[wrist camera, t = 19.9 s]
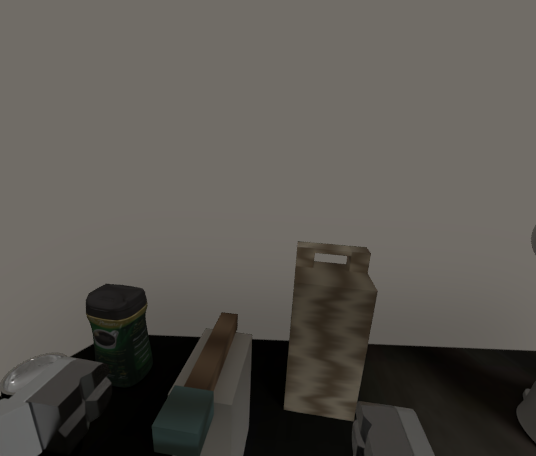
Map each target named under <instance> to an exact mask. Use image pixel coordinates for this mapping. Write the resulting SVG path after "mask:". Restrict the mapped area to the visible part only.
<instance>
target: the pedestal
mask: <svg viewBox="0 0 536 456" xmlns="http://www.w3.org/2000/svg"><path fill="white" fill-rule="evenodd" d="M212 330H213V329H207V328H206V329H205V331H204V333H203V334H202V336H201V338H200V340H199V341H198V343H197V345H196V346H195V348H194V350H193V352H192V353H191V355H190V357H189V359H188V360H187V362H186V364H185V366H184V367H183V369H182V371H181V373H180V374H179V376H178V378H177V380H176V381H175V383H174V385H177V386H183V387H184V385H185V383H186V381H187V379H188V377H189V375H190V373H191V371H192V369H193V367H194V365H195V363H196V361H197V360H198V358H199V356H200V354H201V352H202V350H203V348H204V346H205V344H206V342H207V340H208V338H209V336H210V334H211V332H212ZM251 353H252V334H244V333H237V332H236V333H235V336H234V338H233V341H232V344H231V346H230V349H229V352H228V354H227V357H226V360H225V362H224V365H223V368H222V370H221V373H220V376H219V378H218V381H217V384H216V386H215V389H214V416H213V419H212V422H211V425H210V427H209V430H208V433H207V436H206V439H205V442H204V445H203V448H202V451H201V454H200V456H243V453H244V448H245V443H246V438H247V433H248V428H249V406H250V380H251ZM174 385H173V387H174ZM173 387H172V388H171V390H170V392H171V391H172V389H173ZM170 392H169V393H168V396H169V394H170ZM172 456H174V455H172Z"/></svg>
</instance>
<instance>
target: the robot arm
mask: <svg viewBox="0 0 536 456" xmlns="http://www.w3.org/2000/svg"><path fill="white" fill-rule="evenodd" d="M531 242H532V248H533V250H534V253H535V254H536V226H535V228H534V229H533V232H532V237H531ZM109 373H110V371H109V366H108V364H105V363H100V362H95V361H89V360H84V359H79V358H72V357H66V356H64V357H62V358H59V359H57V360H56V361H55V362H54V363H52V364H51V365H50V366H49V367H47V368H46V369H45V370H44V371H42V372H41V373H40V374H39V375H38V376H36V377H35V378H34V379H33V380H31V381H30V382H29V383H28V384H26V385H25V386H24V387H23V388H22V389H20V390H19V391H18V392H17V393H15V394H14V395H13V396H12V397H10V398H9V399H5V398H4V399H2V400H0V456H38V455H39V454H40V453H42V450H45V451H51V452H57V453H64V454H70V453H71V452H72V450H73V449H74V448H75V447H76V445H77V444H78V443H79V442H80V440H81V439H82V438H83V436H84V435H85V434H86V433H87V431H88V428H89V422H91V421H93V420H94V419H96V418H97V417H99V416H100V415H101V414H102V412H103V411H104V410H105V408H106V407H107V405H108V403H109V401H110V398H111V395H112V383H111V382H110V380H109V379H108V378H107V376H108V374H109ZM523 399H524V400H523V401H522V402H521V403H520V404H519V405H518V407H517V410H516V413H517V418H518V420H519V422H520V424H521V426H522V427H523V429H524V430H525V431H526V433H527V434H528V435H529V436H530V438H531V439H532V440H533V441H534V442H535V443H536V381H535V383H534V384H533V386H532V388H531V389H526V390H525V391H524V393H523ZM355 411H356V416H357V420H355V421H354V422H353V428H352V446H353V454H354V456H435V455H434V453H433V451H432V448H431V446H430V444H429V442H428V440H427V437H426V435H425V433H424V431H423V428H422V426H421V424H420V422H419V419H418V417H417V415H416V413H415V412H414V411H413V409H408V408H402V407H395V406H394V407H393V406H390V405H382V404H375V403H368V402H361V401H358V403H357V405H356V410H355Z"/></svg>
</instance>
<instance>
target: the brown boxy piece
mask: <svg viewBox="0 0 536 456" xmlns="http://www.w3.org/2000/svg"><path fill="white" fill-rule="evenodd" d="M315 253H322V254H333V255H343V256H347V263H346V264H337V263H327V262H317V261H314V256H315ZM370 256H371V253H370V252H369V250H368V249H367V247H356V246H345V245H333V244H323V243H310V242H300V241H298V247H297V257H296V268H295V280H294V292H293V304H292V316H291V327H290V328H291V329H290V339H289V351H288V362H287V375H286V388H285V400H284V410H289V411H295V412H301V413H307V414H313V415H319V416H325V417H331V418H337V419H343V420H349V421H354V415H355V410H356V405H357V399H358V394H359V388H360V383H361V378H362V372H363V367H364V362H365V356H366V351H367V345H368V340H369V334H370V329H371V324H372V318H373V313H374V308H375V302H376V297H377V292H378V291H377V289H376V288H375V286H374V284H373V282H372V280H371V279H370V277H369V275H368V267H369V261H370Z"/></svg>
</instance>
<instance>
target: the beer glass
mask: <svg viewBox="0 0 536 456" xmlns="http://www.w3.org/2000/svg"><path fill="white" fill-rule="evenodd" d="M64 356H66V355H64V354H61V353H48V354H43V355H39V356H37V357H33V358H31V359H29V360H27V361H25V362H23V363H21V364H19V365H18V366H16V367H15V368H13V369H12V370H11V371H10V372H8V373H7V374H6V376H5V377H4V378H3V379H2V381H1V383H0V391H1V397H2V399H4V398H5V399H9V398H10V397H12V396H13V395H14V394H15V393H17V392H18V391H19V390H20V389H22V388H23V387H24V386H25V385H26V384H28V383H29V382H30V381H31V380H33V379H34V378H35V377H36V376H38V375H39V374H40V373H41V372H42V371H44V370H45V369H46V368H47V367H49V366H50V365H51V364H52V363H54V362H55V361H56V360H57V359H59V358H62V357H64ZM66 357H67V356H66ZM81 448H82V439H81V440H80V442H79V443H78V444H77V445H76V447H75V448H74V449H73V450H72V452H71V453H70V454H64V453H57V452H51V451H45V450H42V453H40V454H39V455H38V456H78V454H79V452H80V450H81Z"/></svg>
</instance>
